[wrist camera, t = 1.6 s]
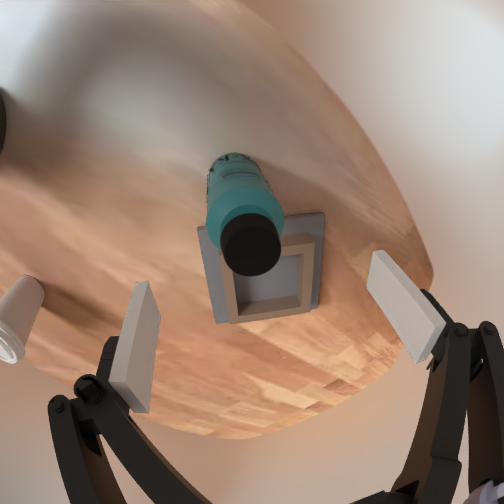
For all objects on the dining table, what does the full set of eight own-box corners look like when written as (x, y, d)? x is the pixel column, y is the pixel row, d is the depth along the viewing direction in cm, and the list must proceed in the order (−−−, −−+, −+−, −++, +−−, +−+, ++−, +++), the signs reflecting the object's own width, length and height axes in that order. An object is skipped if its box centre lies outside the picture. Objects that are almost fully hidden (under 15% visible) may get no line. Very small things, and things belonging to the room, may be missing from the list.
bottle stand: (197, 227, 38) (196, 240, 35) (322, 212, 40) (332, 224, 36) (215, 319, 48) (216, 336, 44) (315, 304, 49) (322, 319, 46)
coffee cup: (55, 312, 42) (28, 373, 30) (18, 302, 40) (-12, 356, 27) (47, 273, 38) (9, 335, 25) (8, 263, 36) (-31, 317, 23)
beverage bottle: (263, 187, 37) (311, 276, 20) (216, 203, 37) (223, 305, 20) (249, 142, 33) (293, 193, 16) (199, 158, 33) (187, 229, 16)
